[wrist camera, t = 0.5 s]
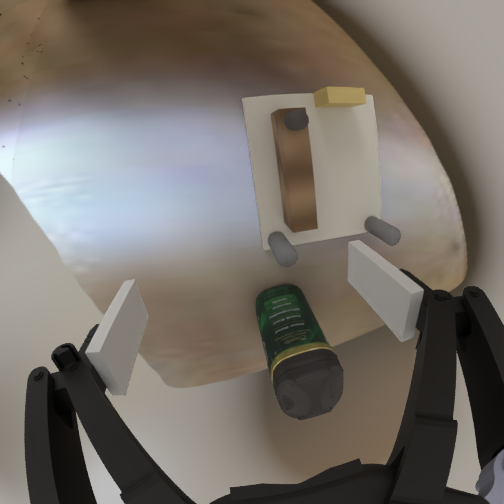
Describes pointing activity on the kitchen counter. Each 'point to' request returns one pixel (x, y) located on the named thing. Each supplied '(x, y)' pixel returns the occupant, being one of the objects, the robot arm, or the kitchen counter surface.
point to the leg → (295, 168)
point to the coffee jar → (298, 354)
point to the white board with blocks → (320, 168)
